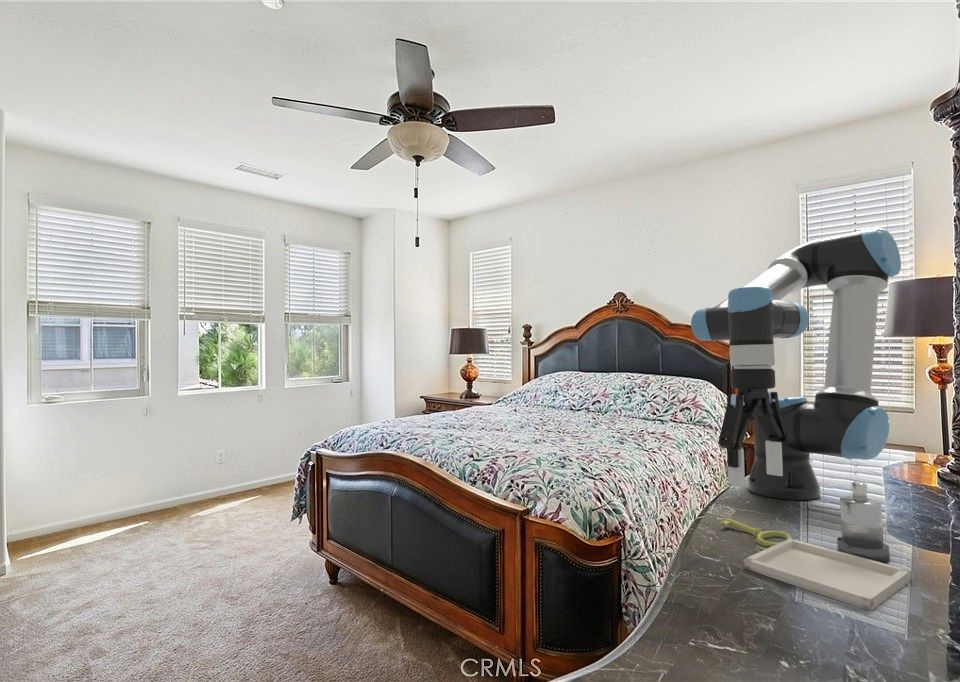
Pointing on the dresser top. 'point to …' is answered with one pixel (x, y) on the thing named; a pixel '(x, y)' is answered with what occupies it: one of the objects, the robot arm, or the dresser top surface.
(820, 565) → the tray
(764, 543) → the key
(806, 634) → the dresser top surface
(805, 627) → the dresser top surface
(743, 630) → the dresser top surface
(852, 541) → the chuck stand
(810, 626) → the dresser top surface
